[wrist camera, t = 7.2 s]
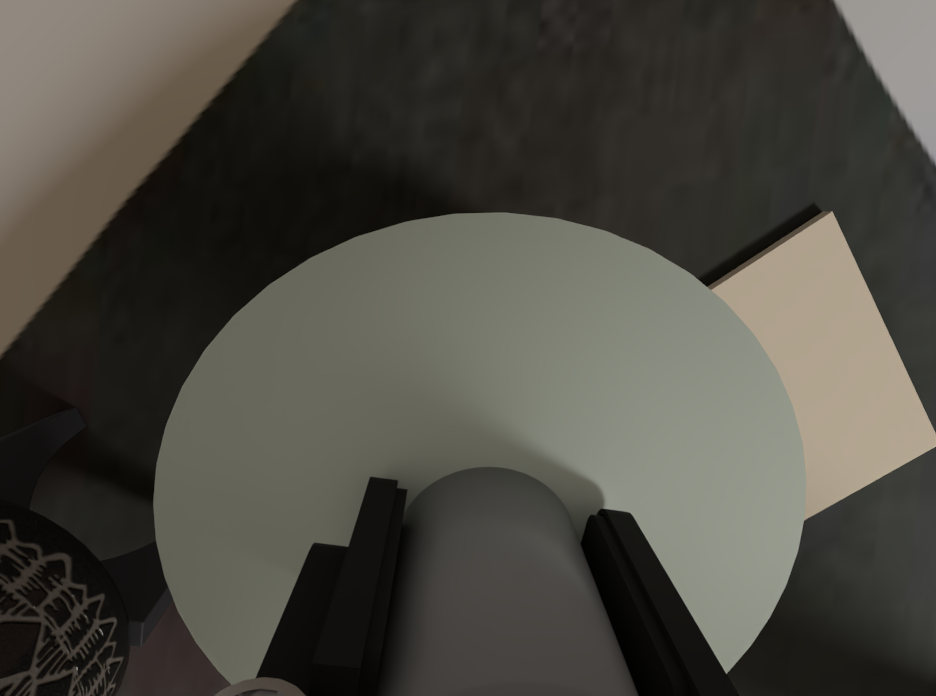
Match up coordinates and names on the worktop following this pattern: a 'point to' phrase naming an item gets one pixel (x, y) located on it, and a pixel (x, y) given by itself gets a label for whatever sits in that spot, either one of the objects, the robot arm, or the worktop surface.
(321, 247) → the worktop surface
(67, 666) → the planter
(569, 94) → the worktop surface
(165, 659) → the worktop surface
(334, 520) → the lid
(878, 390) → the mat
